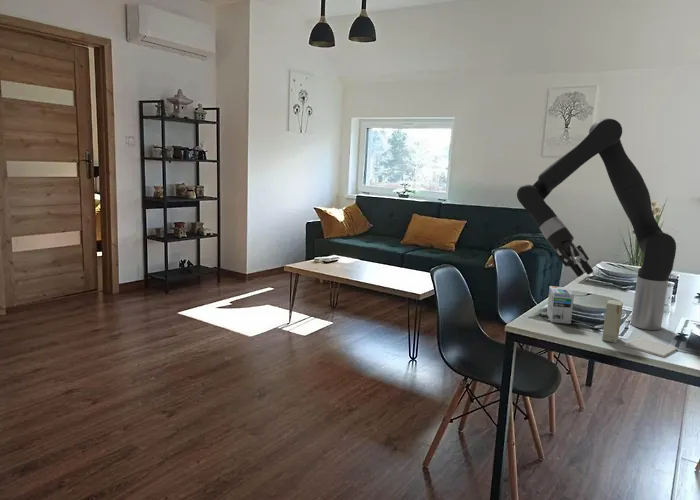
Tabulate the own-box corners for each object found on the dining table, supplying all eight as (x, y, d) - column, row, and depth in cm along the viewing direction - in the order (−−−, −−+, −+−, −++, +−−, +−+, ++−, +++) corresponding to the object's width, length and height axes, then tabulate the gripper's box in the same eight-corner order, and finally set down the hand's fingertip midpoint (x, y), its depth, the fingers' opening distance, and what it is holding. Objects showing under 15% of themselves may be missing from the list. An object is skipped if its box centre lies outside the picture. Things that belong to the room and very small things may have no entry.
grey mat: (639, 339, 168) (639, 337, 167) (677, 349, 159) (677, 347, 159) (624, 346, 161) (624, 344, 160) (663, 357, 152) (663, 355, 152)
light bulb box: (571, 324, 180) (574, 294, 178) (550, 322, 181) (554, 292, 179) (565, 315, 190) (568, 287, 189) (545, 313, 192) (548, 285, 190)
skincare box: (616, 343, 162) (621, 305, 160) (601, 340, 165) (606, 303, 163) (618, 338, 168) (623, 301, 166) (603, 335, 170) (608, 299, 168)
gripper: (553, 227, 170) (584, 270, 164) (575, 225, 179) (605, 265, 173) (536, 241, 175) (566, 283, 168) (558, 238, 184) (587, 277, 178)
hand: (585, 274), depth 171 cm, fingers open, 6 cm apart
